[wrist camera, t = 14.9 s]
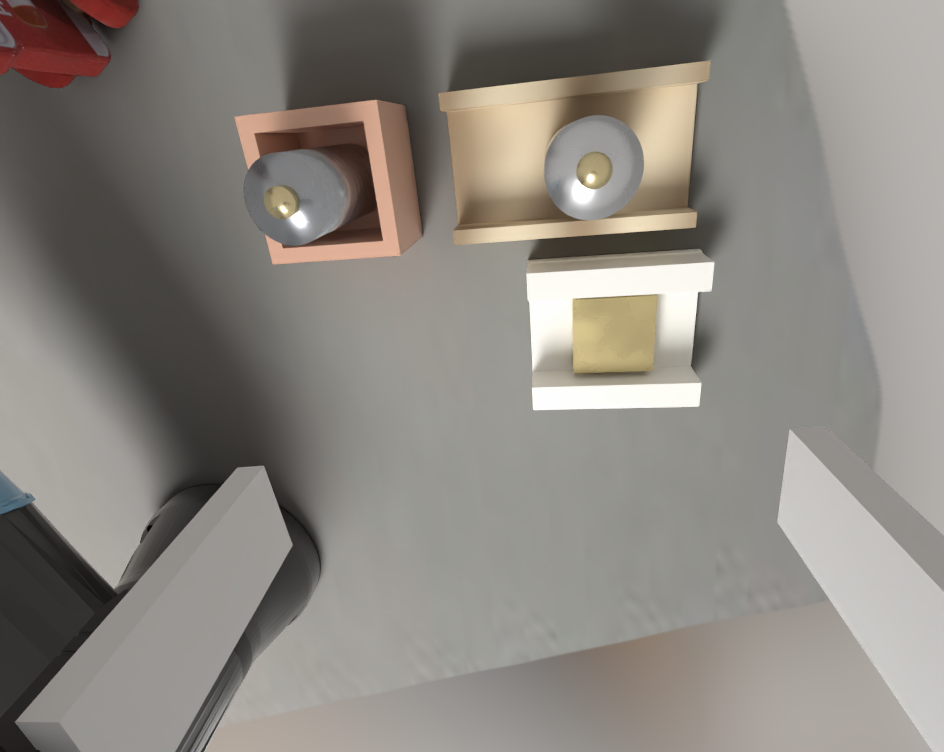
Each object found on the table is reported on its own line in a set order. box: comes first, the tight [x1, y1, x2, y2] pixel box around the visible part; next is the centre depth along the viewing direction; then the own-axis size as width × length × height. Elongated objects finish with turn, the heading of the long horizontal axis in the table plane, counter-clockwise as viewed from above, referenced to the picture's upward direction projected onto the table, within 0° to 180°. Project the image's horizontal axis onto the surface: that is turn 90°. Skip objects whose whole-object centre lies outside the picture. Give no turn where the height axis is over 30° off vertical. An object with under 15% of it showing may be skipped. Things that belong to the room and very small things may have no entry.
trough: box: [438, 61, 711, 245], centre depth 27 cm, size 13×8×3 cm, turn 96°
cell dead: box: [244, 144, 377, 246], centre depth 26 cm, size 4×4×9 cm
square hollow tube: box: [235, 100, 423, 264], centre depth 28 cm, size 7×7×6 cm
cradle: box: [527, 249, 714, 410], centre depth 31 cm, size 10×9×3 cm
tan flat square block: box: [572, 294, 657, 373], centre depth 31 cm, size 5×5×1 cm
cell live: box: [544, 115, 644, 220], centre depth 24 cm, size 4×4×9 cm
